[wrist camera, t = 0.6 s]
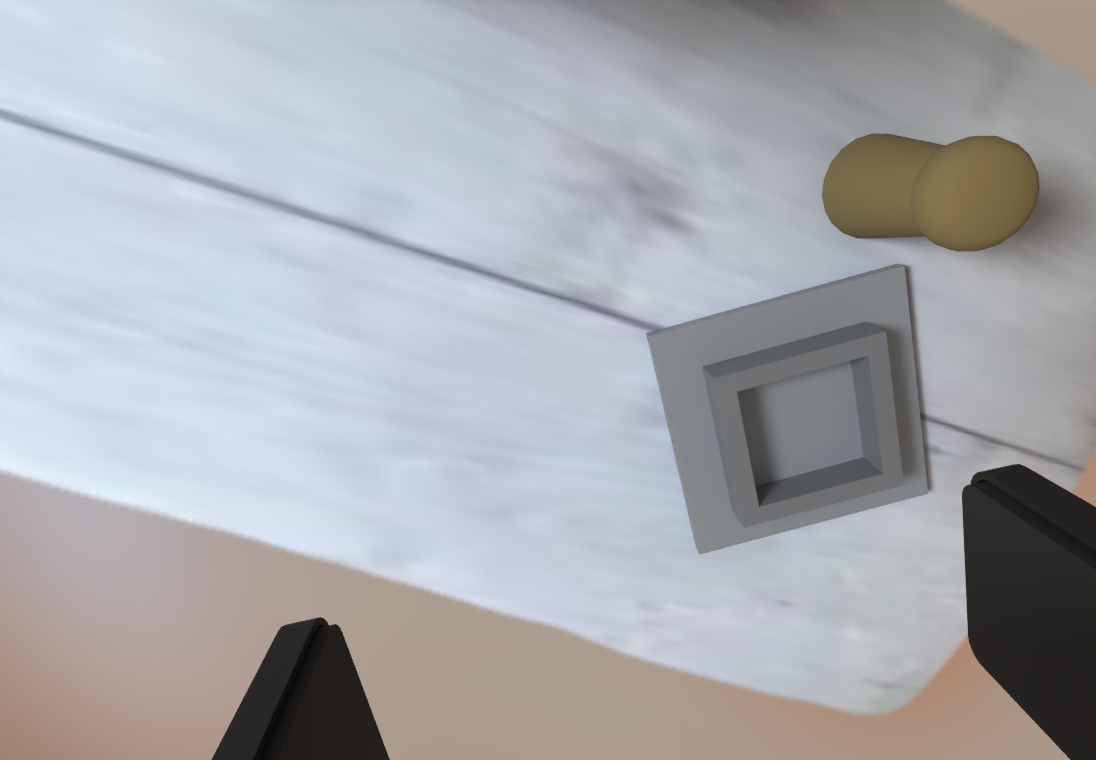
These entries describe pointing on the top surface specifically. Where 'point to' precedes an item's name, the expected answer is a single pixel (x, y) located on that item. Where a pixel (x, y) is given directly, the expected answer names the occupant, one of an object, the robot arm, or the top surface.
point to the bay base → (794, 408)
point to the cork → (931, 190)
